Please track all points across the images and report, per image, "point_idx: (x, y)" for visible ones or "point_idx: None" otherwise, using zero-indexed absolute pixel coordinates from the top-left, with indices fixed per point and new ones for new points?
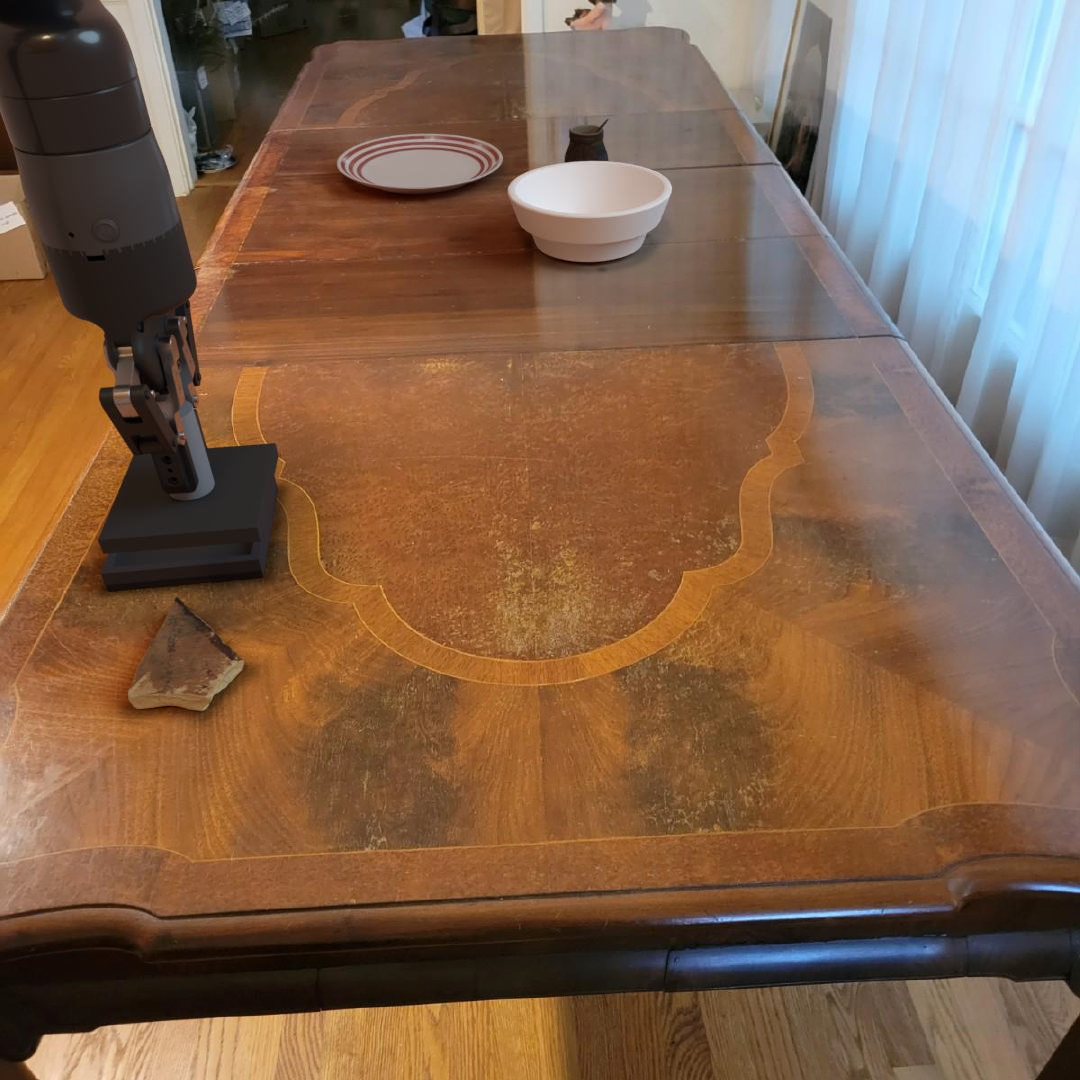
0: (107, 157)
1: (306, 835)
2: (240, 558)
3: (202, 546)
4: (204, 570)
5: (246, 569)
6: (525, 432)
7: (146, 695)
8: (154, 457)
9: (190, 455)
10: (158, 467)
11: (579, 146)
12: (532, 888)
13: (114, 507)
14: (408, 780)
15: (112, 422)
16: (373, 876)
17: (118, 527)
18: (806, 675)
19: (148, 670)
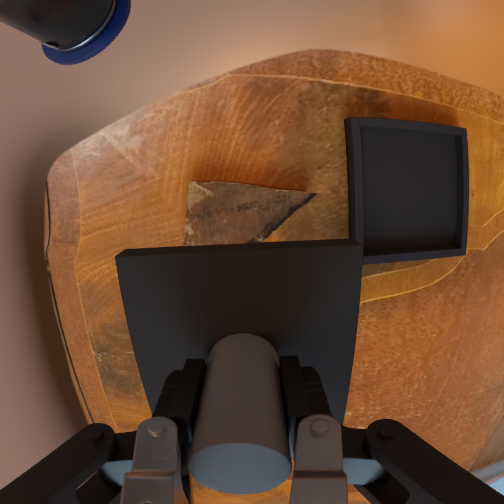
0: None
1: (95, 322)
2: None
3: (391, 200)
4: (352, 212)
5: None
6: (454, 405)
7: (187, 199)
8: (152, 416)
9: None
10: (158, 402)
11: None
12: (91, 411)
13: (193, 259)
14: (136, 373)
15: (10, 483)
16: (80, 354)
17: (142, 279)
18: (219, 501)
19: (216, 193)
